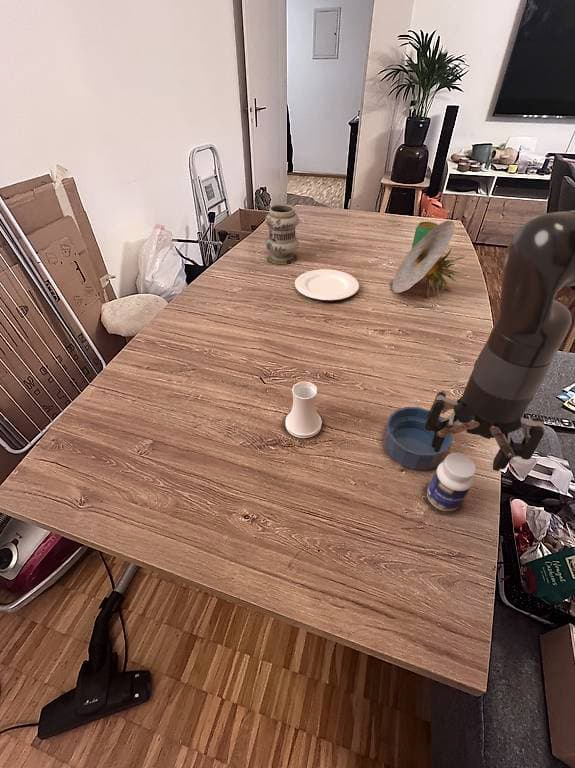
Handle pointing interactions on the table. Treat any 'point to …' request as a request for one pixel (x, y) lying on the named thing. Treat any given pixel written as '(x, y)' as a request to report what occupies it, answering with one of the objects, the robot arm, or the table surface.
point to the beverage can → (422, 231)
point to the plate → (326, 285)
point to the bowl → (413, 439)
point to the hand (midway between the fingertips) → (465, 457)
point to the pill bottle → (451, 482)
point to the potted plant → (427, 260)
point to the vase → (303, 411)
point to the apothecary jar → (282, 233)
